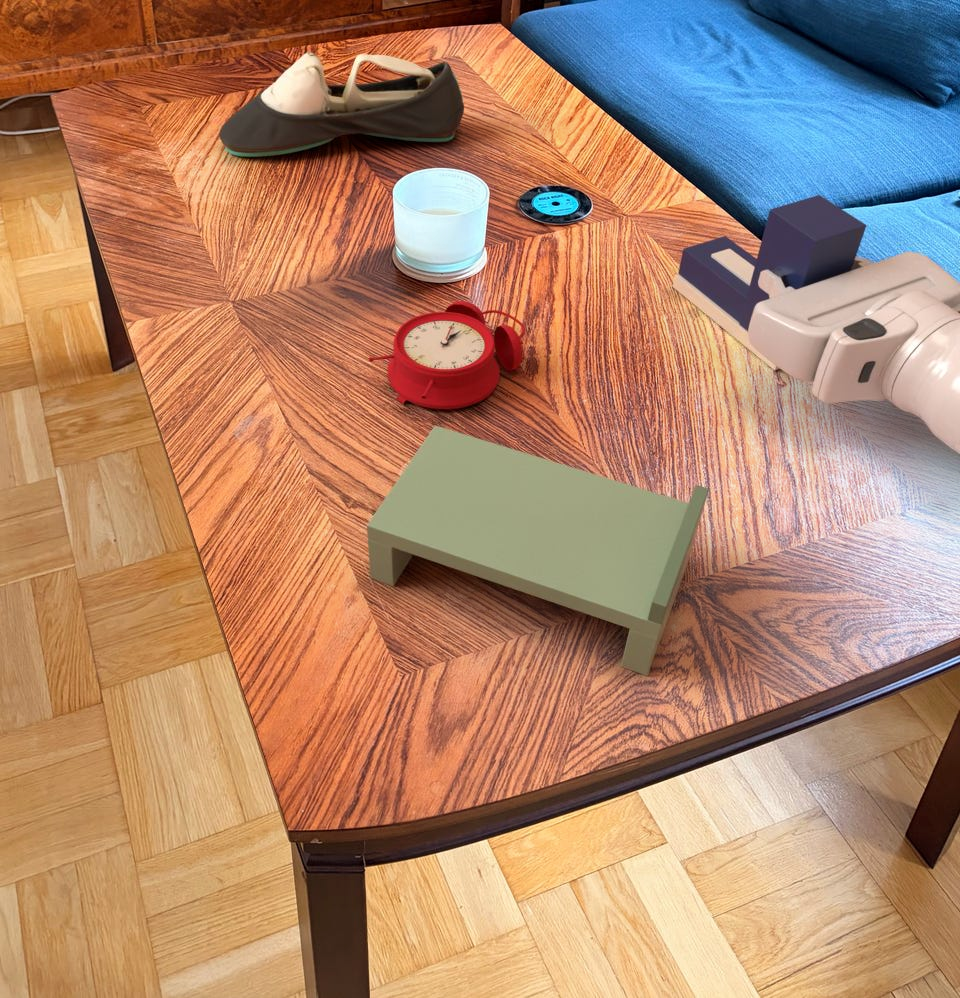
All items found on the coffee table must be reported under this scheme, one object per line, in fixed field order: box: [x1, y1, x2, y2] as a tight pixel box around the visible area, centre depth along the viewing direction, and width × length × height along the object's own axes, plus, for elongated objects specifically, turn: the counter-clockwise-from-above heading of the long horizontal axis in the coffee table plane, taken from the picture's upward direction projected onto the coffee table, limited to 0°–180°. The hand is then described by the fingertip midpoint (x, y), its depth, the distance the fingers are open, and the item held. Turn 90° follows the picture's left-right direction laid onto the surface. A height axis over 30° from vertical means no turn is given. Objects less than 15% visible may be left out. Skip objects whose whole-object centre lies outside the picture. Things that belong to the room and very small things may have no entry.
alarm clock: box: [368, 300, 526, 410], centre depth 93 cm, size 10×6×15 cm
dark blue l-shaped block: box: [672, 194, 867, 371], centre depth 97 cm, size 16×6×14 cm, turn 30°
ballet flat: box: [218, 51, 465, 158], centre depth 123 cm, size 10×30×10 cm, turn 106°
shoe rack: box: [366, 425, 710, 677], centre depth 75 cm, size 22×12×8 cm, turn 67°
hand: (794, 265), depth 93 cm, fingers closed on dark blue l-shaped block, 6 cm apart
